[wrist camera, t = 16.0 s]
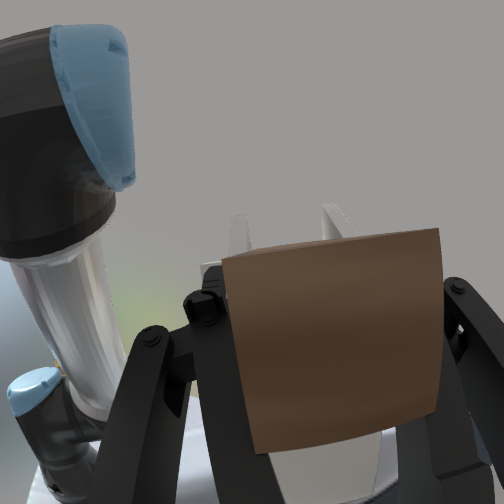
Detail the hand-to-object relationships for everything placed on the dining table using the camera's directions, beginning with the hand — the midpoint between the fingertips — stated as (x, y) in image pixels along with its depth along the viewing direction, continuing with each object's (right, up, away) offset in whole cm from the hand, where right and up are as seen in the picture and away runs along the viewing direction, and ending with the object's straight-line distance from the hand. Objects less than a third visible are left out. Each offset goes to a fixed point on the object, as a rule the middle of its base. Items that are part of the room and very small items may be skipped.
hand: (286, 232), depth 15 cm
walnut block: (+1, -5, +3) cm, 6 cm away
